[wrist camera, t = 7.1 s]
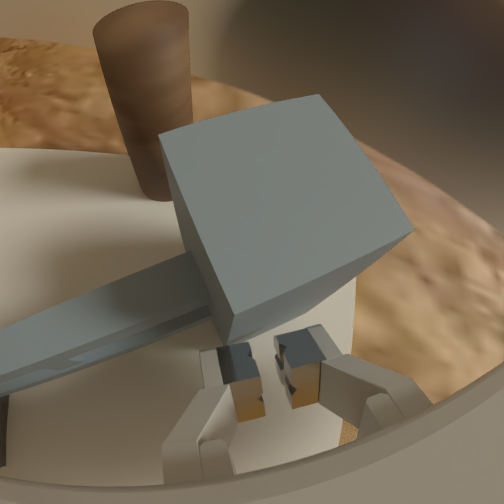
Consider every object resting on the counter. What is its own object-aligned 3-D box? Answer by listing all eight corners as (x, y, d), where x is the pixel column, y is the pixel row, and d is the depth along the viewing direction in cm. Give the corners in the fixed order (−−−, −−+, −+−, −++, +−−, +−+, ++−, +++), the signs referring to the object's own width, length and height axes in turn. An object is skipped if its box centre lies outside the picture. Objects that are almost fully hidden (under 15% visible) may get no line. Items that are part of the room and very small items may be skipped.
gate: (-37, 434, 10) (-150, 436, 1) (-55, 368, 11) (-167, 340, 2) (306, 312, 14) (414, 230, 6) (268, 237, 16) (318, 94, 7)
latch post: (133, 201, 16) (75, 46, 7) (150, 154, 18) (118, 2, 8) (189, 209, 17) (169, 42, 7) (203, 161, 18) (199, 0, 8)
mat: (-74, 417, 10) (-78, 417, 9) (-3, 151, 17) (-5, 147, 17) (311, 550, 10) (313, 553, 10) (354, 197, 18) (356, 193, 17)
